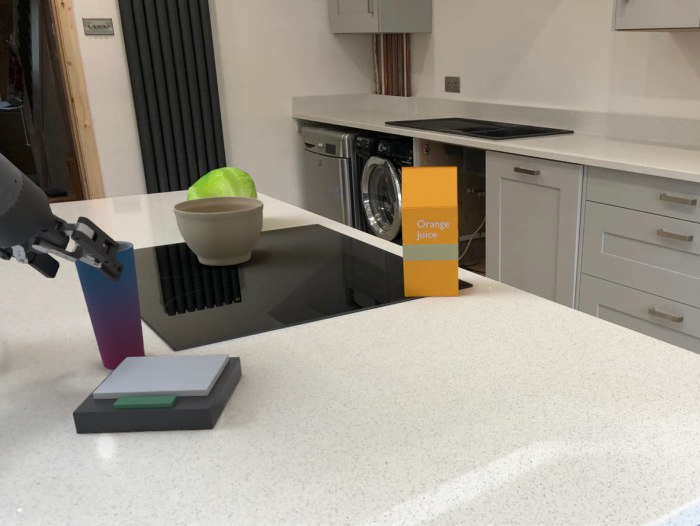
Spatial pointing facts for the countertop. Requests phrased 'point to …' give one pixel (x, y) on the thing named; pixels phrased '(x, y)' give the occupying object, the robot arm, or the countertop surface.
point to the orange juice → (430, 231)
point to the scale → (160, 394)
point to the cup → (114, 308)
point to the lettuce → (223, 184)
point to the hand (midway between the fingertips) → (86, 273)
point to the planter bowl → (220, 228)
